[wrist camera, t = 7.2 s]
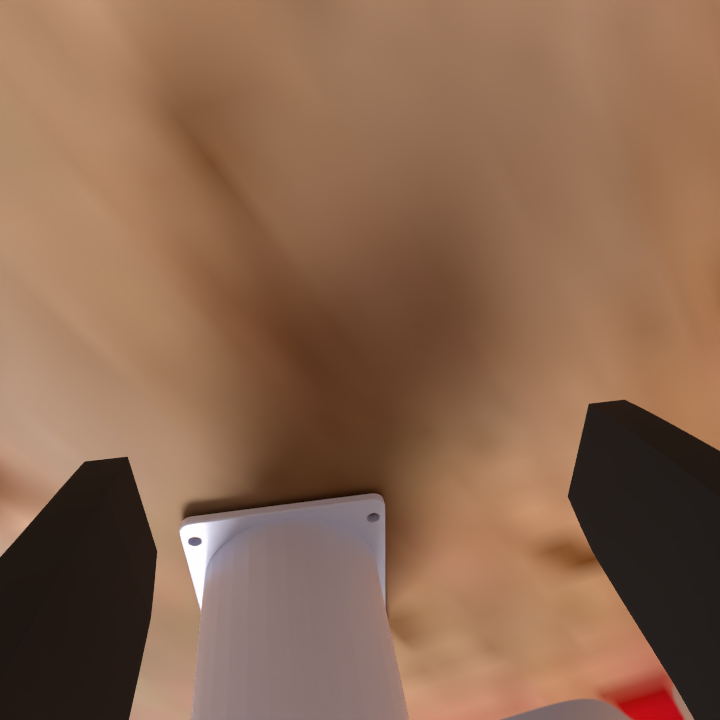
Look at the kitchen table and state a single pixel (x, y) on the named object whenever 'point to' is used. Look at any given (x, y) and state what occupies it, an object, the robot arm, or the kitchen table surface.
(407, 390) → the kitchen table surface
